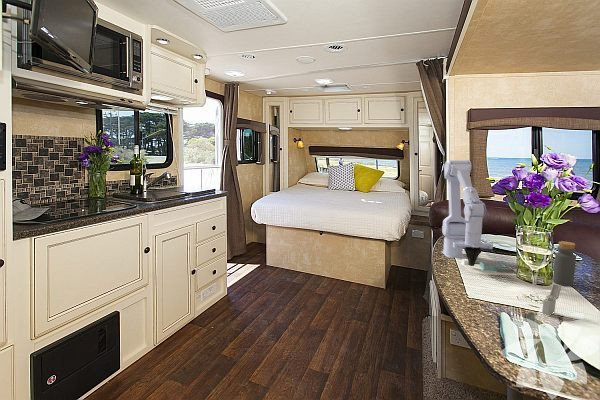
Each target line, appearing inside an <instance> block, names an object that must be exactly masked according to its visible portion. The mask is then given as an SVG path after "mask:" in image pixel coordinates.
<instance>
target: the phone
mask: <svg viewBox="0 0 600 400" xmlns="http://www.w3.org/2000/svg"><path fill="white" fill-rule="evenodd" d="M495 262H496V261H488V262H487V261H486V262H485V261H480V262H479V263H480V265H479V266H480V267H481V268H482V269H483V270H487V271H497V268H506V266H505V265H503V264H502V263H495Z"/></svg>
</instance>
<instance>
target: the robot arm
mask: <svg viewBox="0 0 600 400" xmlns="http://www.w3.org/2000/svg"><path fill="white" fill-rule="evenodd" d="M443 171H444V172H443V175H444V179H445V180H447V185H448V187H447V190H448V192H447V193H448V216H446V217H445V218H444V219H443V220H442V226H441V231H442V235H443V236H444V237H443V238H444V239H443V247H442V248H443V249H442V250H441V251H440V252H441V253H442V254H443V255H444V256H445V257H447V258H458V259H459V258H462V259H468V264H469V265H470V266H474V264H475V262H476V261H477V259H478V257H479V255H480V254H481V253H482V249H489V250H493V249H494V247H493V243H492V242H483V241H482V232H483V230H482V229H483V218H485V216H486V214H487V207H486V206H487V205H486V204H485V203H484V202H483V201H482V200H481V199H480V197H479V193H478V191H477V188H475V187H473V184H472V181H471V180H472V179H471V176H470V173H471V171H472V162H471V161H470V159H447V160H446V161H445V162H444V165H443ZM461 188H462V190H461ZM461 197H462V200H463V204H464V208H463V213H464V217H463V216H462V209H461V208H462V203H461ZM463 250H464V252H465V255H466V256H465V255H463Z"/></svg>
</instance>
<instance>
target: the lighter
mask: <svg viewBox="0 0 600 400" xmlns="http://www.w3.org/2000/svg"><path fill="white" fill-rule="evenodd" d="M561 289H562V285H558V284H556V283H552V286H551V289H550V292H549V294H548V295H547V296H546V298H544V299H543V300H542V310H541V314H542V313H543V314H546V315H550V314H552V313H553V312H555V311H556V301H557V300H558V299H559V296H560V292H561ZM555 313H556V312H555ZM543 314H542V315H543ZM553 314H554V313H553ZM553 314H552V315H553ZM546 315H545V316H546ZM550 316H551V315H550Z"/></svg>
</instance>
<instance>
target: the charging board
mask: <svg viewBox="0 0 600 400" xmlns="http://www.w3.org/2000/svg"><path fill="white" fill-rule="evenodd" d="M494 262H495V263H502V264H503V265H505V266H506V268H497V271H487V270H483V269H482V268H481V267H480V266H479V265H480V262H476V261H475V264H474V266H470V265H469V264H468V258H462V259H461V262H459V263H460V264H461V265H462V267H465V268H466V269H467V270H468V271H469V272H470V273H471V274H472V275H491V276H492V275H493V276H496V275H497V276H518V275H517V274H516V273H514V268H512V267H511V266H510V265H507V263H505V262H504V261H494Z"/></svg>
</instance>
